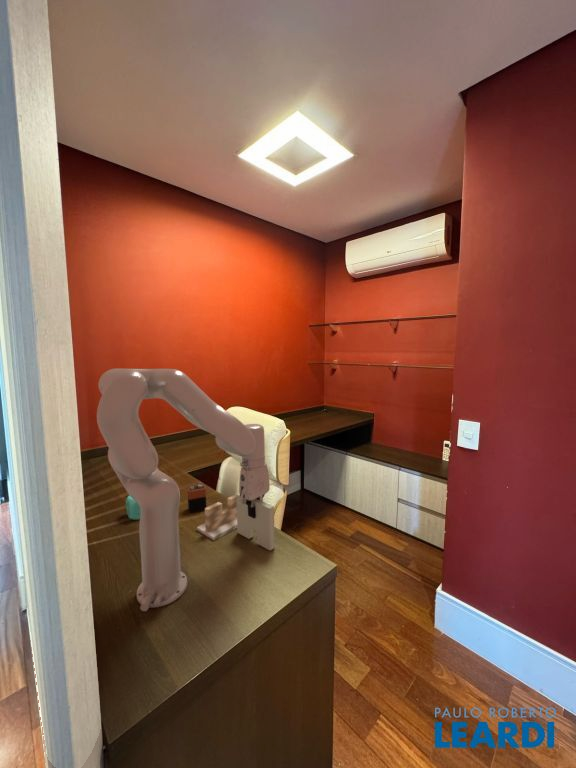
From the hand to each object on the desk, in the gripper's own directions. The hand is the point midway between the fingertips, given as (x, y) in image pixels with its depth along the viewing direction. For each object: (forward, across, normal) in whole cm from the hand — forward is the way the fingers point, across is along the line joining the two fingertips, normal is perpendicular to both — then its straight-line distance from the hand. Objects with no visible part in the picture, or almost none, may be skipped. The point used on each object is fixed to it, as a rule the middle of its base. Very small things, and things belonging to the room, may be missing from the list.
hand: (254, 514), depth 104 cm
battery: (+9, 0, +34) cm, 36 cm away
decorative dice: (+9, -17, +48) cm, 52 cm away
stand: (+9, 0, +16) cm, 18 cm away
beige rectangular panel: (+9, 0, 0) cm, 9 cm away
